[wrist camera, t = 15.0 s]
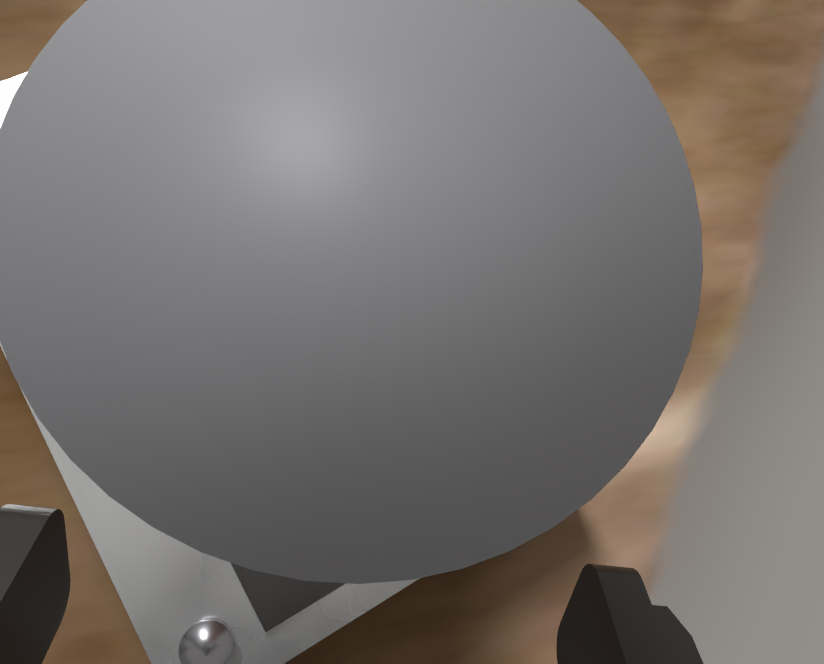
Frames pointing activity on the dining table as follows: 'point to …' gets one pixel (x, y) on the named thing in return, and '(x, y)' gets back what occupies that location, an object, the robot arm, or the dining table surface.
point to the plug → (345, 271)
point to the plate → (203, 579)
